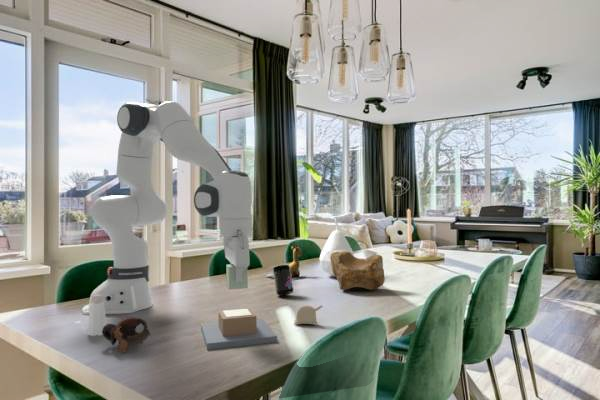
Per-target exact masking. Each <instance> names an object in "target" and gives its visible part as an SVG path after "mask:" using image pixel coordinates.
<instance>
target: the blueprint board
mask: <svg viewBox="0 0 600 400" xmlns="http://www.w3.org/2000/svg"><path fill="white" fill-rule="evenodd" d="M200 330H201V333H202V337H203V341H204V343H205V347H206V350H214V349H215V350H216V349H225V348H233V347H242V346H250V345H252V346H253V345H261V344H270V343H277V342H278V335H277V334H276V333H275V332H274V331H273V330H272V328H271V327H270V326H269V325H268V324H267V322H266V321H265V320H264V318H262V317H261V318H257V315H256V313H255V312H254V311H253V310H252V308H250V307H248V308H247V307H246V308H239V309H238V308H236V309H226V310H223V309H222V310H218V321H217V322H210V323H208V322H207V323H201V324H200Z"/></svg>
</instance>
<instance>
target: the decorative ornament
mask: <svg viewBox="0 0 600 400" xmlns="http://www.w3.org/2000/svg"><path fill="white" fill-rule="evenodd" d="M322 308H323V305H319V306H317V307H315V308H314V307H313V306H311V305H308V304H304V305H301V306H300V307H298V309H297V311H296V315H295V320H294V321H293V322H294V323H293V325H294V326H296V325H301V324H303V325H314V326H318V321H317V313H316V312H317V311H318V310H321V309H322Z"/></svg>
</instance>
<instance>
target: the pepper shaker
mask: <svg viewBox="0 0 600 400" xmlns="http://www.w3.org/2000/svg"><path fill="white" fill-rule="evenodd" d="M90 296H91V295H90ZM102 296H103V295H102V294H95V295H92V296H91V297H92V304H91V305H90V311H89V315H88V323H87V332H86V333H87V334H86V335H87V336H89V335H90V337H95V336H96V335H98V336H103V335H102V334H103V333H102V330H103V328H104V326H105V325H107V318H106V314H105V307H104V303H102Z"/></svg>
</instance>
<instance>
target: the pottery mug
mask: <svg viewBox="0 0 600 400" xmlns="http://www.w3.org/2000/svg"><path fill="white" fill-rule="evenodd" d="M106 324H107V323H106ZM140 325H142V326H143V330H142V331H141V332H138V331H136V329H137V326H140ZM102 333H103V335H102V336H103V337H104V338H105V339H106V340H107V341H109V342H110V344H111V345H112V346H114V345H116V343H117V341H118V345H119V347H118V352H119V353H123V354H125V353H126V352H127V350H130V349H133V348H135V347H137V346H139V345H141V344H143V343H144V341H146V340H147V339H148V337H149V336H151V333H150V330H149V329H148V324H147V322H146V321H145V320H144V319H142V318H140V317H133V316H132V317H127V318H123V319H121V320H120V321H119V322H118V323H116V324H114V323H108V324H107V325H105V326H104V328H103V330H102Z"/></svg>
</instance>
